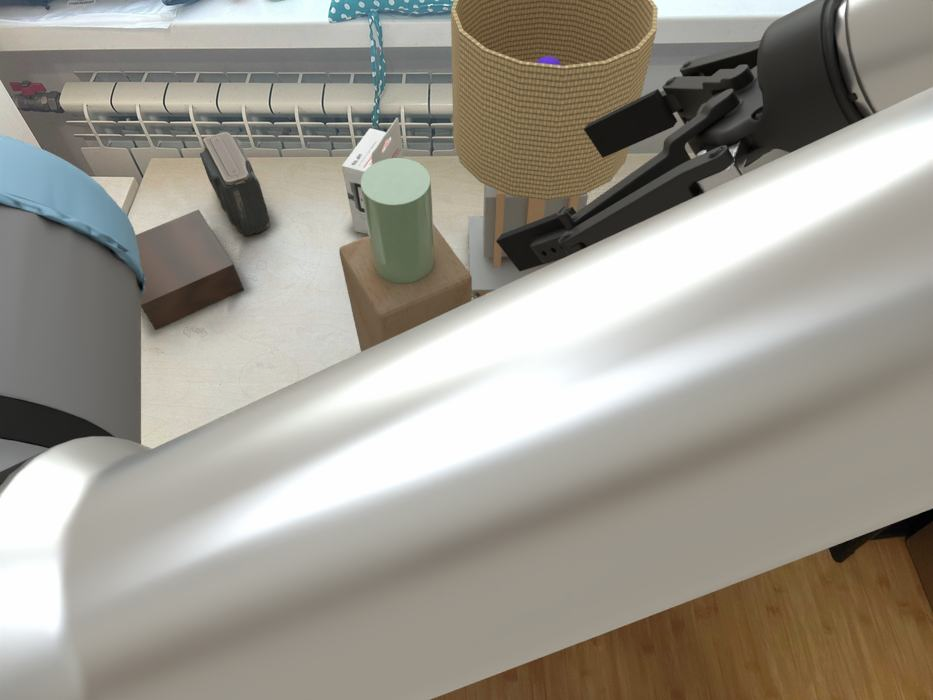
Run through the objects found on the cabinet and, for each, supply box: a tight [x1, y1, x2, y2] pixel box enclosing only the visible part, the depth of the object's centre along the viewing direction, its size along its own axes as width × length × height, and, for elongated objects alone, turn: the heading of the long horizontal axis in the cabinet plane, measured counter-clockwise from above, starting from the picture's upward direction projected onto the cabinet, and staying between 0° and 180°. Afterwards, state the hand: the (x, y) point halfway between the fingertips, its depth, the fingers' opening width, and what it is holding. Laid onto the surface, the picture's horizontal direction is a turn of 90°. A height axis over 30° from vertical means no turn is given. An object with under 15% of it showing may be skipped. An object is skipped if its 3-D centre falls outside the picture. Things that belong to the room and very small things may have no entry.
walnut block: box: [135, 209, 245, 331], centre depth 90 cm, size 12×12×5 cm
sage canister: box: [360, 158, 435, 284], centre depth 63 cm, size 6×6×10 cm
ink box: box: [341, 117, 404, 235], centre depth 93 cm, size 8×5×15 cm, turn 159°
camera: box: [199, 131, 271, 237], centre depth 95 cm, size 11×6×10 cm, turn 27°
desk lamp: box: [450, 0, 659, 296], centre depth 79 cm, size 20×20×35 cm
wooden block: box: [339, 223, 473, 352], centre depth 75 cm, size 10×10×20 cm
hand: (555, 193), depth 49 cm, fingers open, 13 cm apart
